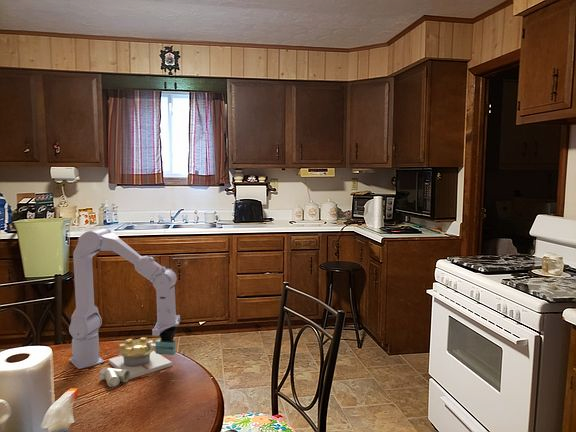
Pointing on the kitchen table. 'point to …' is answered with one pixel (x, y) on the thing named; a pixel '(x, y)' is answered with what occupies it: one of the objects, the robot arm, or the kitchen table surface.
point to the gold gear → (146, 347)
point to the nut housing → (141, 364)
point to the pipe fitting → (114, 376)
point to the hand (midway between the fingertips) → (167, 350)
